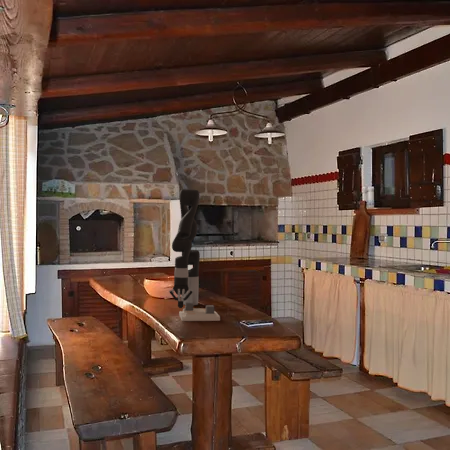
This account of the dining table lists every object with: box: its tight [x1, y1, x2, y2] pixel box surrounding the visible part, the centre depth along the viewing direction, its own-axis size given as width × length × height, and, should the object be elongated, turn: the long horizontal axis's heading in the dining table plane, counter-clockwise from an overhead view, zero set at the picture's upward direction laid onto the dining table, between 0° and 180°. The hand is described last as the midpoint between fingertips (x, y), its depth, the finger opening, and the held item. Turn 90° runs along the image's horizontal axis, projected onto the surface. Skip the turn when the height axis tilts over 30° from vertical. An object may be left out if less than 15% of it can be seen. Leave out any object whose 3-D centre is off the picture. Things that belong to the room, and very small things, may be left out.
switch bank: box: [178, 307, 221, 322], centre depth 293 cm, size 16×20×4 cm
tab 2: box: [205, 304, 215, 314], centre depth 290 cm, size 4×4×5 cm
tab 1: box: [184, 302, 194, 311], centre depth 297 cm, size 4×4×5 cm
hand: (180, 307), depth 296 cm, fingers closed
